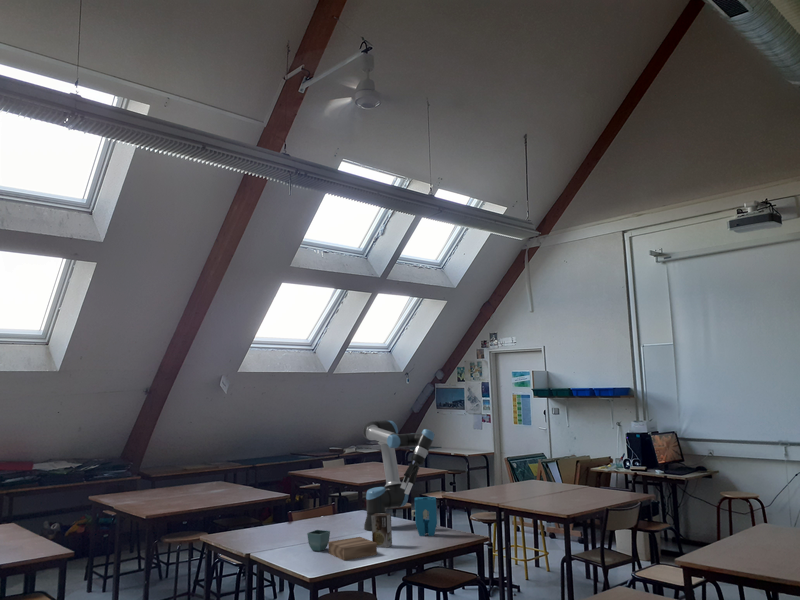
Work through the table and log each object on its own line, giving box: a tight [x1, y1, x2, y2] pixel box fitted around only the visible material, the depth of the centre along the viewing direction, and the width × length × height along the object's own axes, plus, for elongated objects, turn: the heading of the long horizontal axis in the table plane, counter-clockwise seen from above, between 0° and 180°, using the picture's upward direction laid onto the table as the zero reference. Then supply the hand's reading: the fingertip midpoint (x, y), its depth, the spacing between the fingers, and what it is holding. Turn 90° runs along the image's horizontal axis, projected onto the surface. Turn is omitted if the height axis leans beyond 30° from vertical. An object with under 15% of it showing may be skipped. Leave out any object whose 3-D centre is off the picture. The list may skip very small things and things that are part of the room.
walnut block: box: [328, 536, 378, 562], centre depth 296 cm, size 18×18×6 cm
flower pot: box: [306, 529, 331, 552], centre depth 307 cm, size 9×9×9 cm
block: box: [414, 496, 438, 537], centre depth 334 cm, size 12×5×20 cm, turn 86°
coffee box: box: [371, 512, 393, 548], centre depth 312 cm, size 9×6×16 cm
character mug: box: [411, 509, 429, 530], centre depth 348 cm, size 11×7×13 cm, turn 84°
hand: (404, 491), depth 328 cm, fingers open, 13 cm apart
